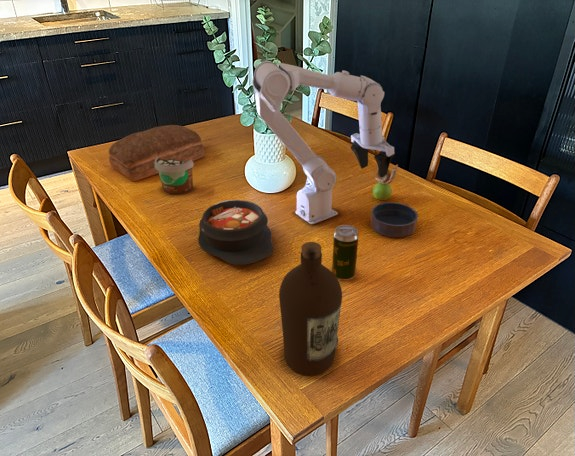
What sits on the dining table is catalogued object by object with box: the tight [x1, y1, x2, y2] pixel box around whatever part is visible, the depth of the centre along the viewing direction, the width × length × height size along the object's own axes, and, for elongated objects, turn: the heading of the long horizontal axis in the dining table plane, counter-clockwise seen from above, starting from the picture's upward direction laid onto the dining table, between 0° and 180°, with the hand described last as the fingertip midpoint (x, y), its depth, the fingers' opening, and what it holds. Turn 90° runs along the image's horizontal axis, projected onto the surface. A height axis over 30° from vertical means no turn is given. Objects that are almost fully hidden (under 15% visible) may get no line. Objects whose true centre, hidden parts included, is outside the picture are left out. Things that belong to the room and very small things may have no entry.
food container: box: [155, 156, 195, 196], centre depth 138 cm, size 12×6×10 cm, turn 76°
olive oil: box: [278, 241, 343, 377], centre depth 79 cm, size 11×11×25 cm
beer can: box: [331, 224, 359, 282], centre depth 102 cm, size 5×5×12 cm
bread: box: [108, 124, 206, 182], centre depth 156 cm, size 17×29×11 cm, turn 133°
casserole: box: [197, 199, 275, 266], centre depth 115 cm, size 25×19×8 cm
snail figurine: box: [372, 164, 399, 201], centre depth 131 cm, size 5×6×12 cm
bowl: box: [369, 201, 419, 239], centre depth 121 cm, size 12×12×4 cm
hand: (373, 171), depth 127 cm, fingers open, 7 cm apart
